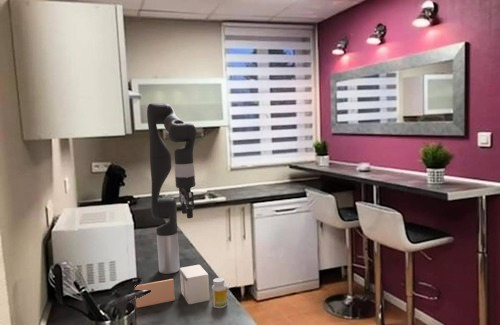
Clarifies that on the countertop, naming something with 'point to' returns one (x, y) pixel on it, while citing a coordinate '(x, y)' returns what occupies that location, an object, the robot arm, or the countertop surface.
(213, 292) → the supplement bottle
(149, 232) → the countertop surface
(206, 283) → the white rectangular block
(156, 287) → the ticket
